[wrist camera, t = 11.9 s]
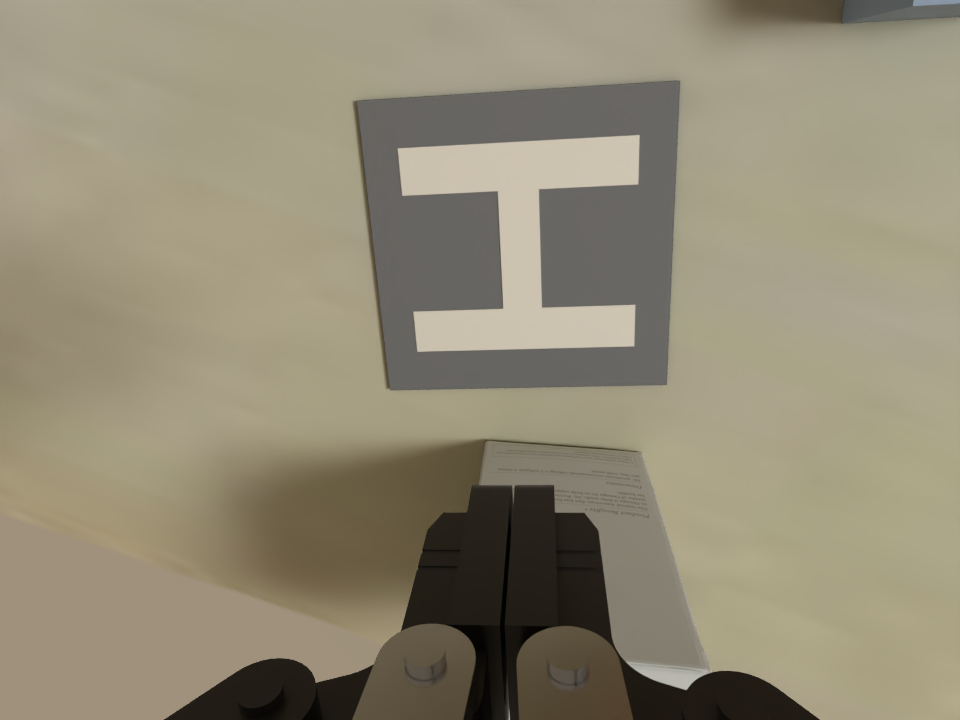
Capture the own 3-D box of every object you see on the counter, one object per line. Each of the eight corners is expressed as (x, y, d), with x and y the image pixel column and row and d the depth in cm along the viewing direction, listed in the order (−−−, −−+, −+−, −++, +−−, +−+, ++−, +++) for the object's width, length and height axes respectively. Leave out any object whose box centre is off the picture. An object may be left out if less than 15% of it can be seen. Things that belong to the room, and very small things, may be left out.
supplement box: (476, 568, 33) (440, 824, 22) (484, 435, 31) (449, 644, 19) (627, 583, 33) (674, 853, 21) (649, 449, 30) (717, 673, 18)
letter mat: (357, 101, 26) (356, 100, 26) (679, 80, 25) (680, 80, 25) (390, 388, 30) (389, 390, 30) (665, 383, 29) (666, 385, 29)
